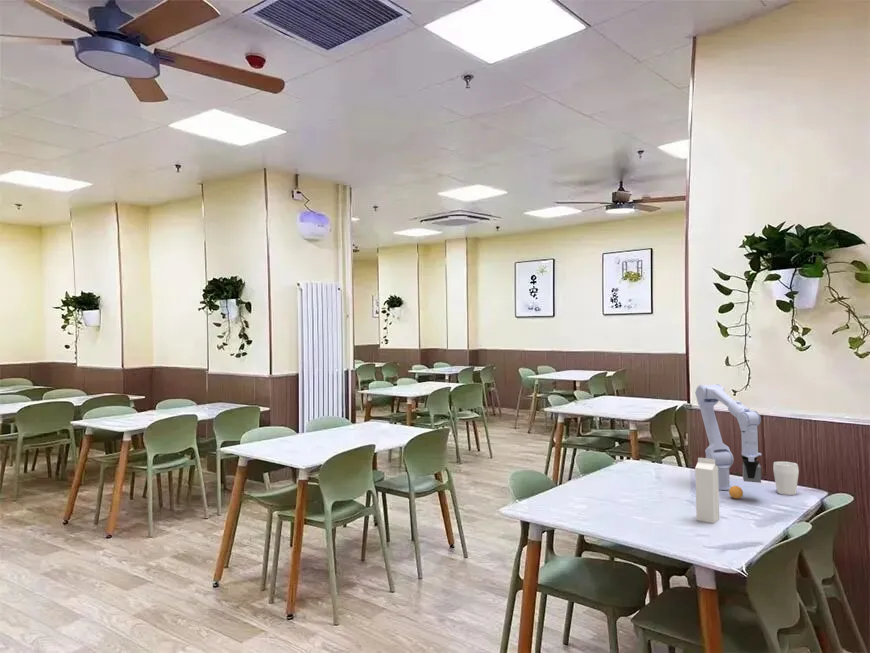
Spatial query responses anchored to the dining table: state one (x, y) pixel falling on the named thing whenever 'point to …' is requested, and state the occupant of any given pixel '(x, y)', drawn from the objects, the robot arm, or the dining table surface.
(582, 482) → the dining table surface
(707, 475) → the milk
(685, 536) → the dining table surface
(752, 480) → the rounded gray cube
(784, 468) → the cup
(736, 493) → the ball
